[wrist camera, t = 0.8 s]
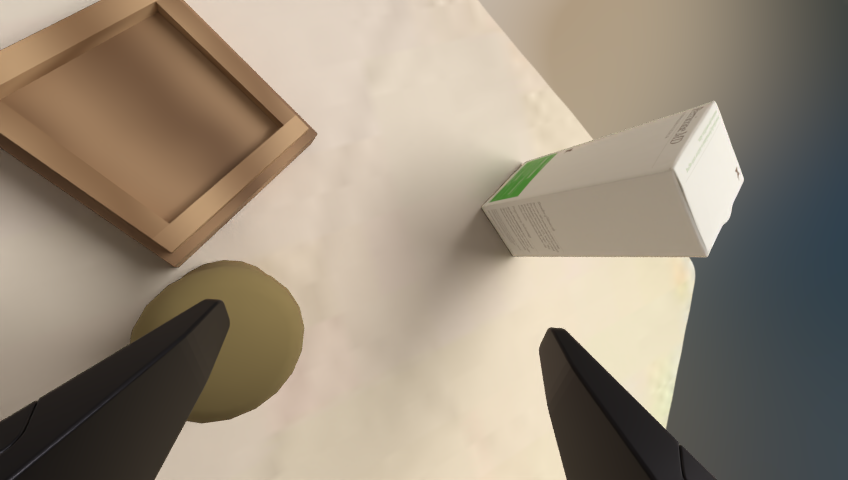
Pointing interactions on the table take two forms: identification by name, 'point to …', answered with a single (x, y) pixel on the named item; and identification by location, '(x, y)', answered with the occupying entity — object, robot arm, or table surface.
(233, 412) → the olive pear-shaped figure
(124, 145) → the square wooden tray
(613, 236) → the skincare box
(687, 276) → the table surface
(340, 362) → the table surface
